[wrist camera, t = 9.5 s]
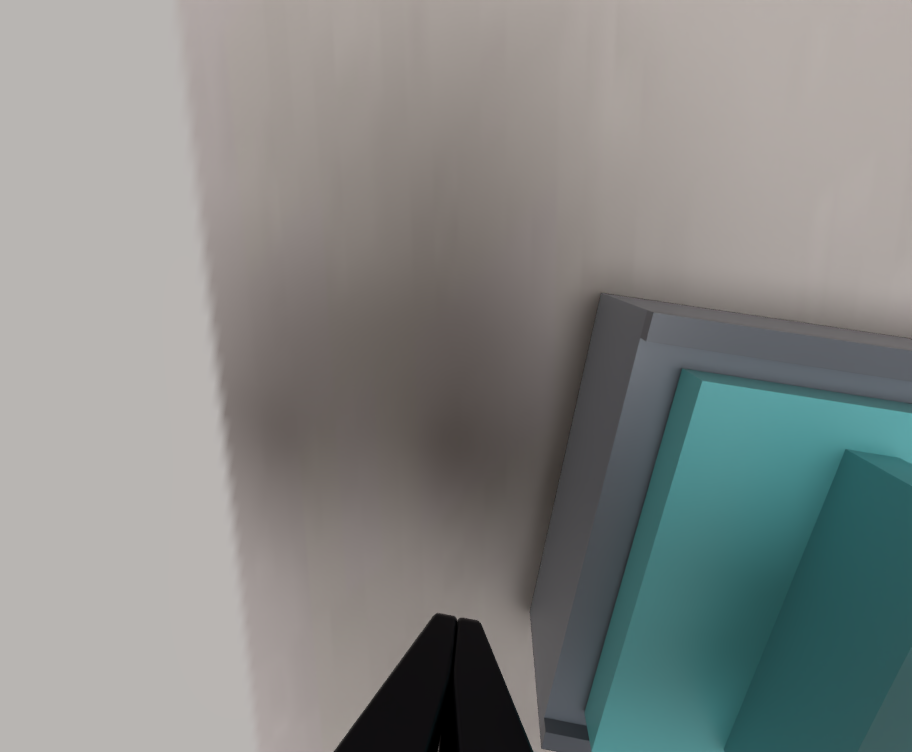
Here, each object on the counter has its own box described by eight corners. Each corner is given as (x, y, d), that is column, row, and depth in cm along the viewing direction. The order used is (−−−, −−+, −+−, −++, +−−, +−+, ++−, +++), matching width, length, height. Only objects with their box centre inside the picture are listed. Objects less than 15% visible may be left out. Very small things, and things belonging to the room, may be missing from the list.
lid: (849, 765, 12) (987, 965, 9) (584, 712, 12) (616, 885, 9) (1026, 421, 9) (1326, 516, 6) (682, 368, 10) (779, 428, 6)
